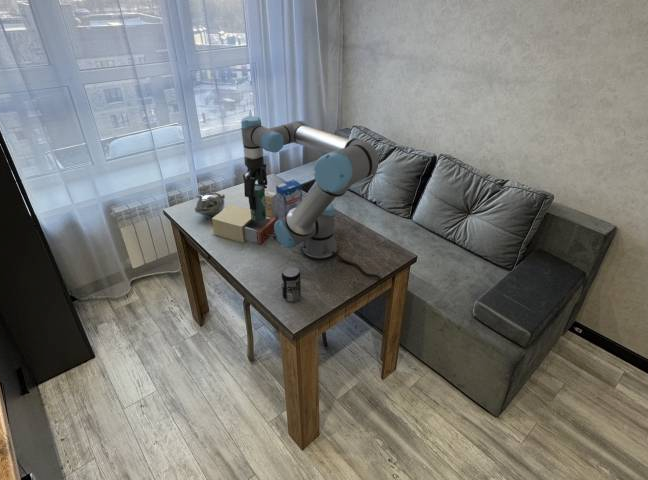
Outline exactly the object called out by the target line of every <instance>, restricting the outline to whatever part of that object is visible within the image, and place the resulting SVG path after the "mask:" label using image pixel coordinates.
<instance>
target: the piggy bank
mask: <svg viewBox="0 0 648 480" xmlns="http://www.w3.org/2000/svg"><path fill="white" fill-rule="evenodd" d="M196 198H198V200H197V202H196V206H195V207H194V212H195V213H197V214H200V215H201V216H205V217H207V220H212V218H213V217H214V216H216V215H217V214H218V213H220V212H221V211H223V210H224V209H225V204H226V203H225V199H226V195H225V194H224V193H223V194H220V193H218V192H208V193H205V194H202V193H201V194H200V193H199V194H197V195H196Z"/></svg>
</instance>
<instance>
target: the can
mask: <svg viewBox="0 0 648 480" xmlns="http://www.w3.org/2000/svg"><path fill="white" fill-rule="evenodd" d="M254 196H255V199H256V210H252V209H250V208H249V209H250V211H251V219H252V220H254V221H263V220H264V219H266V209H265V195H264V186H263V185H261V184H258V183H255V190H254Z"/></svg>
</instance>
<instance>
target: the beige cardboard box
mask: <svg viewBox="0 0 648 480" xmlns="http://www.w3.org/2000/svg"><path fill="white" fill-rule="evenodd" d="M251 220H252V219H251V211H250V208H247V207H243V206H239V205H235V204H232V203H230V204H229V205H228V206H227V207H224V209H223V210H222V211H221V212H220V213H218V214H217V215H213V216H212V219H211V223H212V230H213V235H214V236H218V237H221V238H225V239H228V240H231V241H234V242H238V243H241V244H244V243H245V242H247V240H246V239H244V233H243V227H244V226H245V225H246V224H247V223H249V222H250V221H251Z"/></svg>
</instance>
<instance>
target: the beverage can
mask: <svg viewBox="0 0 648 480" xmlns="http://www.w3.org/2000/svg"><path fill="white" fill-rule="evenodd" d="M301 288H302V287H301V272H300V269H299V268H298V267H297V266H294V265H287V266H286V267H284V268H283V269H282V271H281V290H282V291H281V293H282V298H283V299H284V300H285V301H287V302H295V301H297V300H299V299H300V298H301V295H302V293H301V291H302V290H301Z"/></svg>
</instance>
